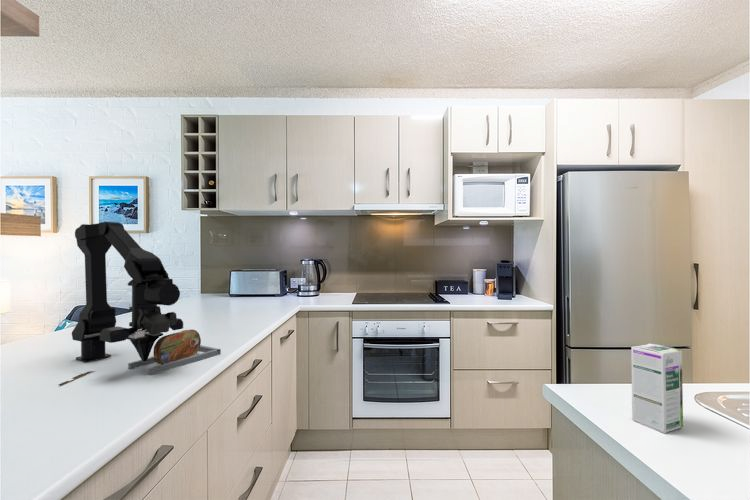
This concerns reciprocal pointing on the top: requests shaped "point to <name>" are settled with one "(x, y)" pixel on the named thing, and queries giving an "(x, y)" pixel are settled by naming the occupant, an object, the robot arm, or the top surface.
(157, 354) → the tin
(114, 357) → the top surface
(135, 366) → the slate corral
